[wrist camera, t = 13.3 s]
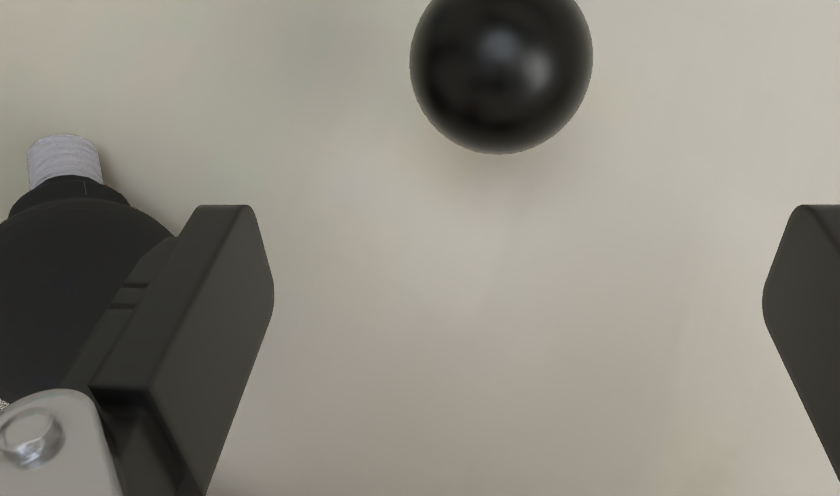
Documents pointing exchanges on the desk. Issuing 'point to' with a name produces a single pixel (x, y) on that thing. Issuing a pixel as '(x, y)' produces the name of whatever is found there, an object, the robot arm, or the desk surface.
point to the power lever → (500, 70)
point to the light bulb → (62, 262)
